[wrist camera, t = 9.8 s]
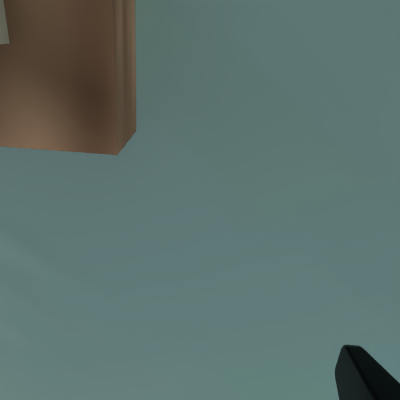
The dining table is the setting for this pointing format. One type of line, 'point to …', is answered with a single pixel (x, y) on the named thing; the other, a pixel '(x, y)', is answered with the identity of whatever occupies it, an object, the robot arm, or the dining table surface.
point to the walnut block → (68, 75)
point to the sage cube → (3, 25)
